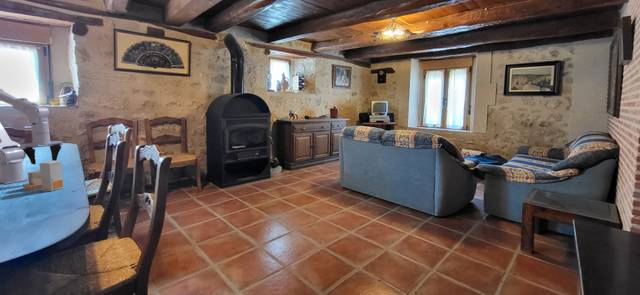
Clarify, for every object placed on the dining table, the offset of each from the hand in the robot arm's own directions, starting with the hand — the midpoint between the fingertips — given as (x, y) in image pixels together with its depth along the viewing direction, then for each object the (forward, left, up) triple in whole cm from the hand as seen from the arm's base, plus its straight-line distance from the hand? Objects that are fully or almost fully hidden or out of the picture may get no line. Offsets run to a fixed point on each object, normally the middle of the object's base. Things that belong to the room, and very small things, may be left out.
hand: (44, 162), depth 137 cm
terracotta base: (+7, -6, -9) cm, 13 cm away
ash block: (+7, -6, -7) cm, 12 cm away
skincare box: (+15, -4, -10) cm, 18 cm away
